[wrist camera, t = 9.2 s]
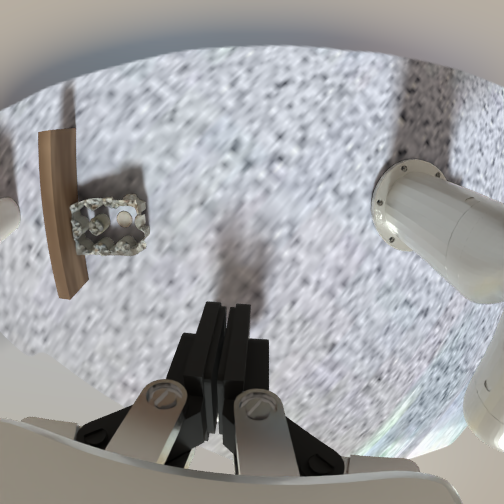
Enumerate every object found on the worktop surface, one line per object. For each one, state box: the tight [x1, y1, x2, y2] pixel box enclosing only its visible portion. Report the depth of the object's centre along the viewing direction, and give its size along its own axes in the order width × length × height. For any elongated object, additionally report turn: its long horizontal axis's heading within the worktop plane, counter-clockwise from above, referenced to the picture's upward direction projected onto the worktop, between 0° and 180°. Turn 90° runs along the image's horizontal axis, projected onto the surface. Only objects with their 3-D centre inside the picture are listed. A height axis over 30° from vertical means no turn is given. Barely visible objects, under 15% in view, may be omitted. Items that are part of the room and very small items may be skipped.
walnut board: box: [38, 128, 89, 300], centre depth 34 cm, size 2×22×6 cm, turn 176°
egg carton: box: [70, 194, 150, 256], centre depth 36 cm, size 11×8×4 cm
